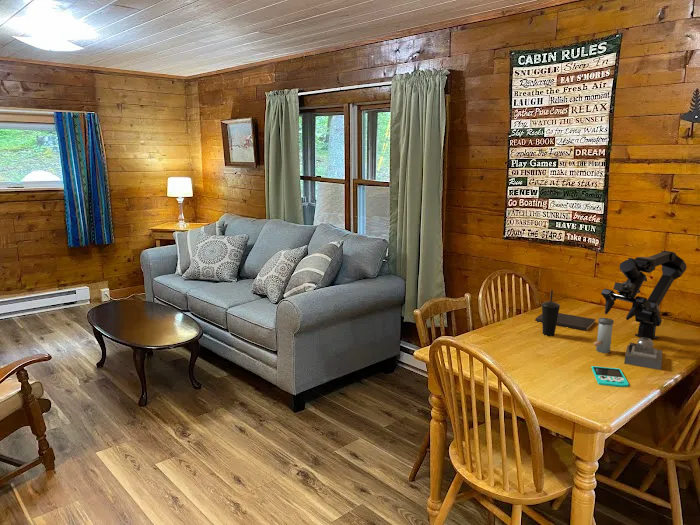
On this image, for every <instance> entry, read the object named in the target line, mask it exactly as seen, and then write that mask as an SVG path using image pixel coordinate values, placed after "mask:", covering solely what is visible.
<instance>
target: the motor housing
mask: <svg viewBox="0 0 700 525" xmlns="http://www.w3.org/2000/svg"><path fill="white" fill-rule="evenodd" d="M623 363H624V364H626V365H631V366H636V367H643V368H648V369H652V370H653V369H655V370H660V371H661V370H662V363H663V350H662V349H661V350H660V349H657V348H654V342H653V339H650V338H647V337H642V338H641V337H639V339H637V343H634V342H629V344H627V346H626V350H625V354H624V362H623Z"/></svg>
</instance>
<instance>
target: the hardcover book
mask: <svg viewBox="0 0 700 525" xmlns="http://www.w3.org/2000/svg"><path fill="white" fill-rule="evenodd" d="M535 321H537V322H536V323H539V322H542V313H541V314H539V315H538V316H537V317H535V319H534V322H535ZM595 321H596V318H590V317H585V316H584V317H583V316H580V315H575V314H574V315H573V314H568V313H562V312H558V318H557V323H556V327H561V328H566V327H568V328H567V329H571V328H572V330H578V331H583V332H587V331H588V330H589V328H591V327H592V326H593V325H594V324H595V323H596V322H595Z"/></svg>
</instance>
